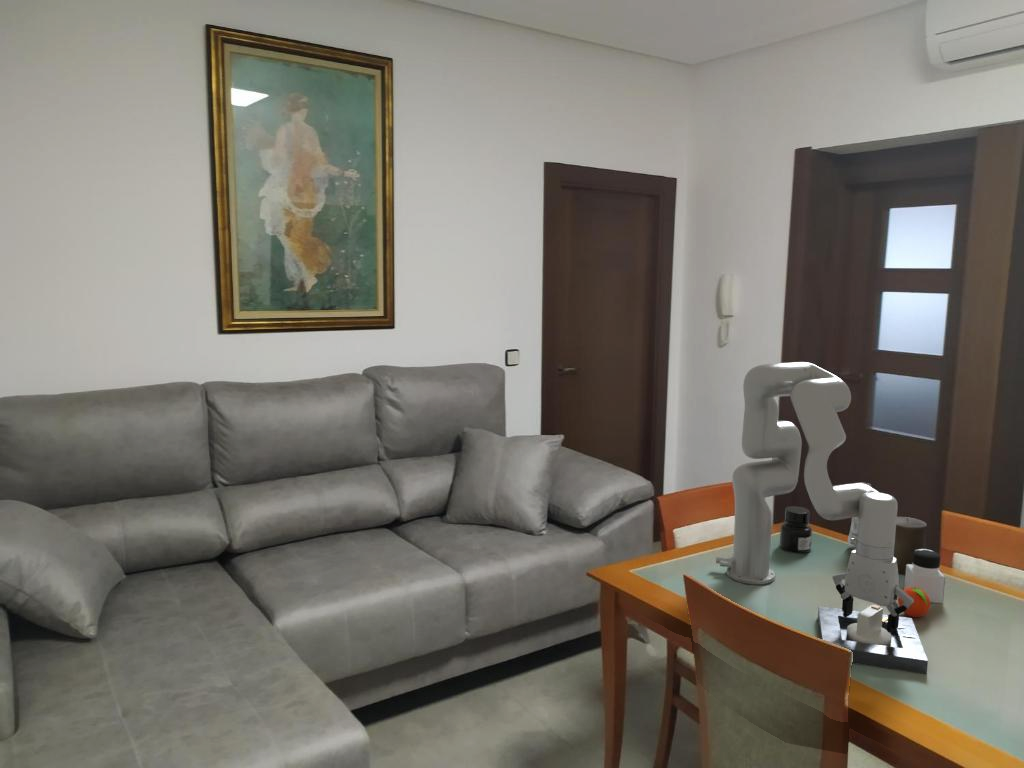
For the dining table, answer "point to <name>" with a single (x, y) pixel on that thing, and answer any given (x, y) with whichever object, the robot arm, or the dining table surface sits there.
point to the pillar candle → (908, 540)
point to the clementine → (916, 602)
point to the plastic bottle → (854, 528)
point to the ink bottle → (796, 530)
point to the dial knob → (869, 628)
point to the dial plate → (897, 656)
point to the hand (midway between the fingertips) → (869, 622)
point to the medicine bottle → (926, 574)
